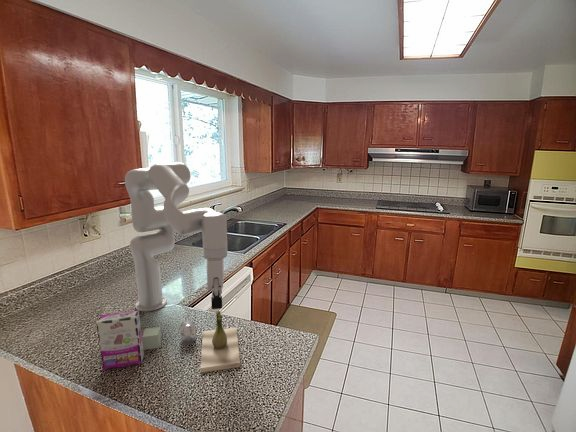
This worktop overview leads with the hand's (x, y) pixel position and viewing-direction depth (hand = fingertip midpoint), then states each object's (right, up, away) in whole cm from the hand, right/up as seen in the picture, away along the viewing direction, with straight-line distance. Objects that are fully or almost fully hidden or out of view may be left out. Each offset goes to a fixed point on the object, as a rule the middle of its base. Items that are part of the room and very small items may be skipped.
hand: (217, 300), depth 102 cm
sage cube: (-24, -17, +6) cm, 30 cm away
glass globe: (-12, -16, +9) cm, 22 cm away
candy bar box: (-29, -19, -3) cm, 35 cm away
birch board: (0, -18, +4) cm, 18 cm away
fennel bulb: (0, -16, +3) cm, 17 cm away
